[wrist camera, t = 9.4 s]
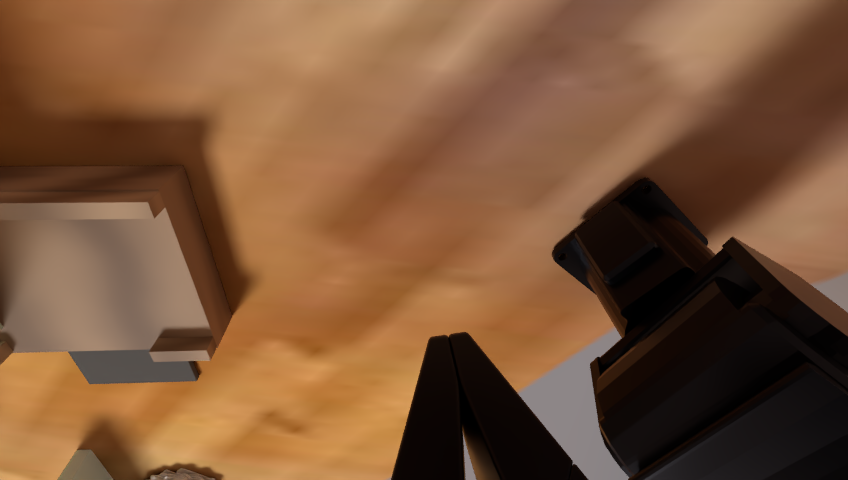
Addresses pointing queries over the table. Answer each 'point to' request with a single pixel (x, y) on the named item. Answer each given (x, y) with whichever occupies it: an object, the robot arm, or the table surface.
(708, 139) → the table surface
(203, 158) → the table surface
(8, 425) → the table surface
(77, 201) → the brown tray
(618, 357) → the robot arm
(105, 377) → the pads
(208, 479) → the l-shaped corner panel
